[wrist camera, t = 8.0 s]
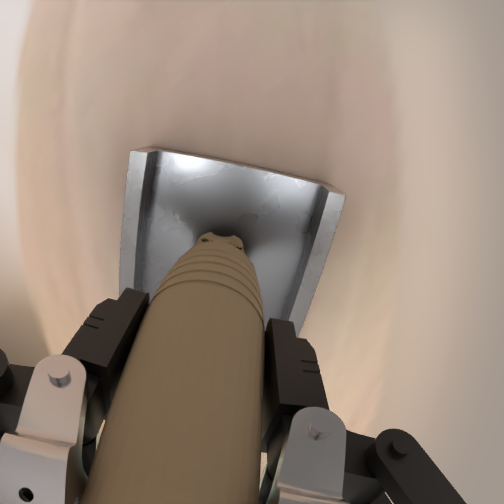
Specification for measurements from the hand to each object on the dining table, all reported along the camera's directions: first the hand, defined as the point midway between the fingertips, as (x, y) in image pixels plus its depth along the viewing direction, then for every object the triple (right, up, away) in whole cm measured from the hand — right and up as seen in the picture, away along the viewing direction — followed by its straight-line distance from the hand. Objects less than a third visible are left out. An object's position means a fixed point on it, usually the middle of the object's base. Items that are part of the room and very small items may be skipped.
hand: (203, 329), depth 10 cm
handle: (0, +2, +5) cm, 6 cm away
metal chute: (-1, -2, +9) cm, 10 cm away
